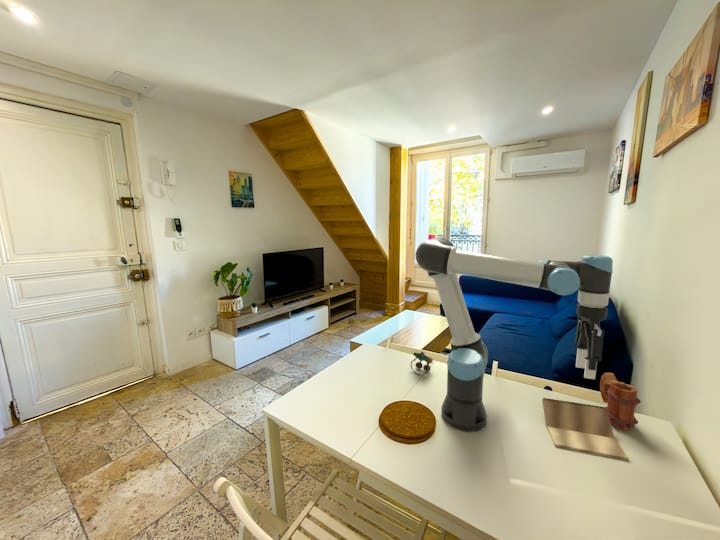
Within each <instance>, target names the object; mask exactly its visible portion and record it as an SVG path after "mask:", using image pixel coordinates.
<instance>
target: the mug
mask: <svg viewBox="0 0 720 540" xmlns="http://www.w3.org/2000/svg"><path fill="white" fill-rule="evenodd" d="M599 391H600V392H599V393H600V396H601V399H602V401H603V403H605V404H607V406H605V407H606V408H607V412H608V416H609V419H610V423H611V426H613V427H614V428H617V429H620V430H623V431H631V430H632V429H633V427H635V426H636V425H638V423H639V421H638V420H637V418H636V417H635V411H636V407H637V406H638V404H641V400H640V399H639V398H638V390H637V389H636V387H634V386H633V385H631V384H627V383H625V382H622V381H618V379H617V378H616V376H615V374H614V373H613V372H604V373H603V374H602V375H601V378H600V381H599Z"/></svg>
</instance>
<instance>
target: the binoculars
mask: <svg viewBox="0 0 720 540" xmlns="http://www.w3.org/2000/svg"><path fill="white" fill-rule="evenodd" d="M412 355H413V356H414V357H415V358H414V359H413V360H412V361H411V362H410V368H411V370H412V371H413V372H414V373H415V374H417V375H419V373H418V372H416V371H415V370H414V369H413V366H412V365H413V362H416V360H418V361H417V362H416V363H415V367H416V369H418V370H420V369H423V371H425V372H424V373H423V375H425V374H427V373H428V372H430V371H431V366H430V364H432V363H433V362H434V361H433V357H430V356H428V355H425V352H424V351H420V353H419V352H413V354H412ZM423 361H424V362H426V364H424V365H423V363H422V362H423Z"/></svg>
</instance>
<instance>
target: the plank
mask: <svg viewBox="0 0 720 540" xmlns="http://www.w3.org/2000/svg"><path fill="white" fill-rule="evenodd" d="M541 400H542V407H543V414H544V420H545V421H544V422H545V427H546V428H547V426H548V427H554V428H559V429H565V430H571V431H576V432H582V433H588V434H593V435H599V436H604V437H610V438H615V435H614V431H613V428H612V425H611V423H610V419H609V416H608V412H607V408H606V407H607V406H599V405H593V404H586V403H580V402H574V401H567V400H566V401H565V400H559V399H553V398H546V397H543V398H542V399H541ZM615 439H616V438H615Z"/></svg>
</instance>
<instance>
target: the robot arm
mask: <svg viewBox="0 0 720 540" xmlns="http://www.w3.org/2000/svg"><path fill="white" fill-rule="evenodd" d="M415 251H416V252H415V260H416V263H417V265H418V266H419V267H420V268H421V269H422V270H423V271H425V272H427V274H428V277H429V278H431V279H433V281H434V283H435V287H436V290H437V293H438V296H439V299H440V302H441V305H442V309H443V311H444V314H445V318H446V321H447V325H448V328H449V330H450V334H451V339H450V341H449V344H450V347H451V350H452V351H451V352H450V353H449V355H448V357H447V361H446V363H447V374H446V375H447V379H446V382H447V384H446V395H445V398H444V400H443V402H442V405H441V410H440V411H441V417H442V419H443V421H444V422H445V423H446V424H447V425H449V426H450V427H452V428H454V429H456V430H459V431H463V432H468V433H469V432H473V433H474V432H478V431H481V430H483V429H484V428H485V427H486V426H487V421H488V416H487V411H486V409H485V405H484V403H483V401H484V400H483V391H484V390H483V389H484V388H483V387H484V376H485V372H486V368H487V364H488V361H489V351H488V348H487V345H486V344H485V343H484V342H483V340H482V337H481V334H480V333H477V332H475V328H474V325H473V322H472V319H471V316H470V314H469V313H470V312H469V310H468V307H467V303H466V300H465V298H464V297H465V296H464V294H463V291H462V287H461V285H460V282H459V281H460V280H459V278H458V276H457V274H458V275H459V274H460V275H464V276H471V277H476V278H481V279H488V280H493V281H498V282H502V283H509V284H513V285H514V284H515V285H520V286H525V287H531V288H537V289H541V290H546V291H551V292H552V293H555V294H556V295H558V296H569V295H572V294H574V293H575V292H577V291H578V293H577V302H578V303H577V304H576V315H577V325H576V332H575V338H574V339H575V340H574V344H575V345H576V348H577V349H576V357H575V358H576V359H575V368H578V369H579V368H580V369H584V373H583V378H584V379H589V380H596V376H597V375H596V374H597V367H598V366H597V365H598V362H602V360H603V345H604V338H605V337H604V336H605V330H604V329H601V323H600V321H602V320H606V319H607V317H608V310H609V308H608V307H607V306H608V305H609V299H611V297H612V296H611V295H610V292H611V291H610V290H611V283H612V275H613V258H612V257H610V256H608V255H601V254H600V255H598V254H597V255H596V254H594V255H593V254H589V255H588V254H585V255H583V256H581V257H582V258H581V260H579V261H566V260H565V261H563V260H552V259H549V260H548V259H547V260H539V261H538V262H537V261H536V262H535V261H529V260H523V259H515V258H511V257H510V258H509V257H503V256H497V255H491V254H483V253H476V252H470V251H463V250H458V249H457V248H456V247H455V245H454V244H453V242H452V241H451V240H449V239H447V238H444V237H435V238H432V239H427V240H425V241H423V242H421V243H420V244H419V245H418V247H417V248H416V250H415Z"/></svg>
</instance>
